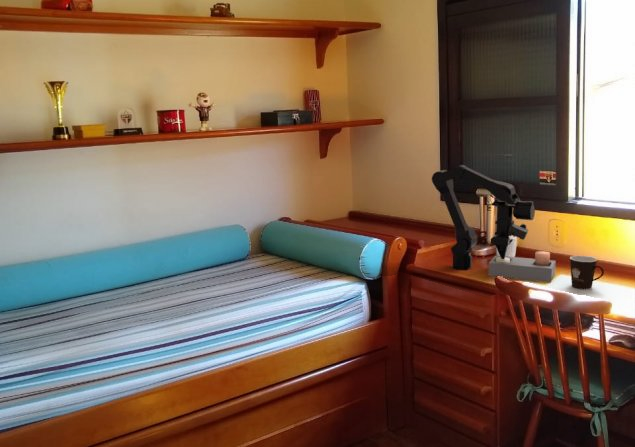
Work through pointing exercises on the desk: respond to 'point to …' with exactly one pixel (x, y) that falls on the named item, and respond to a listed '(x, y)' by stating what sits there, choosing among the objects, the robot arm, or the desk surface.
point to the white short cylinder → (503, 259)
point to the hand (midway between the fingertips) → (502, 258)
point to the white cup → (510, 248)
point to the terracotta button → (542, 258)
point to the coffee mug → (583, 271)
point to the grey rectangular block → (522, 269)
